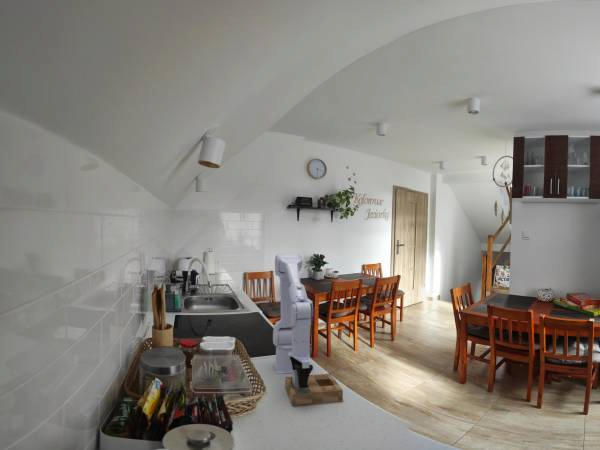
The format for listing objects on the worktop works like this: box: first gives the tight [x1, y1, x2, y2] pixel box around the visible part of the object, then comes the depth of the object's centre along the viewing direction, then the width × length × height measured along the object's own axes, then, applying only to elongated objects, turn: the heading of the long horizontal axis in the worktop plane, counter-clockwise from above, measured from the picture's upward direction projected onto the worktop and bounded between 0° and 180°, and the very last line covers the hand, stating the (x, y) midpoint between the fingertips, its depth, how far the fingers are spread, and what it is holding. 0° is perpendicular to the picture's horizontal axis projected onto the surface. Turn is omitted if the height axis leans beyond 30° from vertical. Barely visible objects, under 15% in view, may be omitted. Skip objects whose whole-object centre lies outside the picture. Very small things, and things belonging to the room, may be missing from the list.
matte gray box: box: [291, 370, 299, 389], centre depth 104 cm, size 4×4×7 cm
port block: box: [284, 373, 344, 407], centre depth 105 cm, size 12×16×4 cm
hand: (299, 381), depth 104 cm, fingers open, 7 cm apart
